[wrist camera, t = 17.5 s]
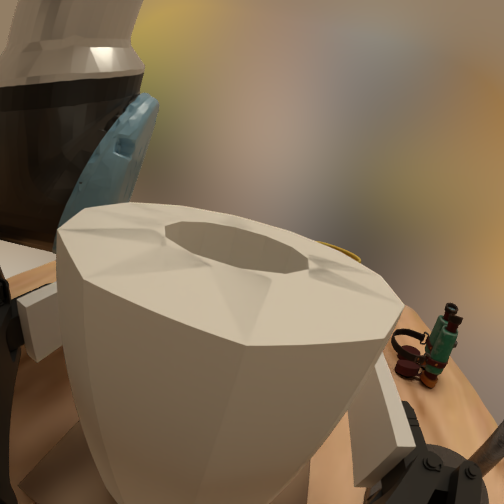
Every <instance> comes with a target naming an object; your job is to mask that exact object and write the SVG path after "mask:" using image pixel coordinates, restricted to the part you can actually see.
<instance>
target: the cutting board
mask: <svg viewBox="0 0 504 504" xmlns="http://www.w3.org/2000/svg"><path fill="white" fill-rule="evenodd" d="M309 473H310V460H309V461H308V463H307V464H306V465H305V466H304V467H303V468H302V469H301V471H300V472H299V473H298V474H297V475H296V476H295V477H294V478H293V480H292V481H291V482H290V483H289V484H288V485H287V486H286V487H285V488H284V489H283V490H282V491H281V492H280V493H279V494H278V495H277V496H276V497H275V498H274V499H273V500H272V501H271V502H270V503H269V504H307V497H308V486H309ZM18 487H19V488H21V489H22V490H23V491H24V492H25V493H26V494H27V495H28V496H29V497H30V498H31V499H33V500H34V501H35V502H36V503H37V504H118V503H117V502H116V501H115V499H114V498H113V497H112V495H111V494H110V493H109V491H108V490H107V489H106V486H105V484H104V482H103V480H102V478H101V476H100V473H99V471H98V469H97V466H96V464H95V462H94V459H93V457H92V454H91V452H90V449H89V446H88V443H87V441H86V438H85V435H84V432H83V429H82V426H81V423H80V420H79V421H78V422H77V423H76V424H75V425H74V426H73V427H72V428H71V429H70V430H69V432H68V433H67V434H66V435H65V436H64V437H63V438H62V439H61V440H60V441H59V442H58V443H57V444H56V445H55V446H54V447H53V448H52V449H51V451H50V452H49V453H48V454H47V455H46V456H45V457H44V458H43V459H42V460H41V461H40V462H39V463H38V464H37V465H36V466H35V467H34V469H33V470H32V471H31V472H30V473H29V474H28V475H27V476H26V477H25V478H24V479H23V480H22V481H21V482H20V483H19V485H18Z"/></svg>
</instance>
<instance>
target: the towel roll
mask: <svg viewBox="0 0 504 504" xmlns="http://www.w3.org/2000/svg"><path fill="white" fill-rule="evenodd" d="M56 277H57V298H58V311H59V321H60V329H61V337H62V344H63V350H64V356H65V362H66V367H67V372H68V377H69V381H70V386H71V390H72V394H73V398H74V402H75V406H76V409H77V413H78V416H79V419H80V423H81V426H82V429H83V432H84V435H85V438H86V441H87V443H88V446H89V449H90V452H91V454H92V457H93V459H94V462H95V464H96V466H97V469H98V471H99V473H100V476H101V478H102V480H103V482H104V484H105V486H106V489H107V490H108V491H109V493H110V494H111V495H112V497H113V498H114V499H115V501H116V502H117V503H118V504H269V503H270V502H271V501H272V500H273V499H274V498H275V497H276V496H277V495H278V494H279V493H280V492H281V491H282V490H283V489H284V488H285V487H286V486H287V485H288V484H289V483H290V482H291V481H292V480H293V478H294V477H295V476H296V475H297V474H298V473H299V472H300V471H301V469H302V468H303V467H304V466H305V465H306V464H307V463H308V461H309V460H310V459H311V458H312V457H313V455H314V454H315V453H316V452H317V450H318V449H319V448H320V447H321V445H322V444H323V443H324V442H325V440H326V439H327V438H328V436H329V435H330V434H331V432H332V431H333V430H334V428H335V427H336V425H337V424H338V423H339V421H340V420H341V418H342V417H343V416H344V414H345V413H346V411H347V410H348V408H349V407H350V405H351V404H352V402H353V401H354V399H355V398H356V396H357V394H358V393H359V391H360V390H361V388H362V386H363V385H364V383H365V382H366V380H367V378H368V377H369V375H370V373H371V371H372V370H373V368H374V366H375V364H376V363H377V361H378V359H379V357H380V355H381V354H382V352H383V350H384V348H385V346H386V344H387V342H388V340H389V338H390V336H391V334H392V332H393V330H394V328H395V326H396V324H397V322H398V320H399V318H400V315H401V313H402V311H403V309H404V307H405V305H404V304H403V303H402V301H401V300H400V299H399V298H398V296H397V295H396V294H395V293H394V291H393V290H392V289H391V288H390V286H389V285H388V284H387V283H386V282H385V280H384V279H383V278H382V277H381V276H380V275H379V274H377V273H375V272H374V271H372V270H370V269H368V268H367V267H365V266H364V265H362V264H360V263H359V262H357V261H355V260H354V259H352V258H350V257H349V256H347V255H345V254H343V253H342V252H340V251H338V250H335V249H333V248H331V247H328V246H326V245H323V244H321V243H318V242H316V241H313V240H311V239H308V238H306V237H303V236H301V235H298V234H296V233H293V232H290V231H287V230H284V229H281V228H278V227H274V226H271V225H267V224H264V223H260V222H257V221H253V220H249V219H246V218H242V217H239V216H235V215H230V214H225V213H219V212H214V211H208V210H203V209H197V208H192V207H186V206H179V205H165V204H150V203H133V202H128V203H119V204H111V205H104V206H96V207H89V208H84V209H83V210H81V211H80V212H79V213H77V214H76V215H75V216H73V217H72V218H71V219H70V220H68V221H67V222H66V223H64V224H63V225H62V226H61V227H59V228H58V229H57V243H56Z"/></svg>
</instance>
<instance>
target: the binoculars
mask: <svg viewBox="0 0 504 504" xmlns="http://www.w3.org/2000/svg"><path fill="white" fill-rule="evenodd" d="M457 311H458V308H457V306H456V305H455V304H453V303H447V304H446V306H445V314H444V316H442V315H440V316H439V317H438V319H437V321H436V324H435V326H434V328H433V330H432V333H431V335H430V337H429V334H428V333H427V332H424V334H421V333H419V332H416V331H413V330H410V329H397V330H396V331H395V332H394V333H393V336H392V338H391V343H392V346H393V348H394V350H395V351H396V352H397V353H398V358H399V359H400V360H398V361H397V364H396V367H395V371H396V372H398V373H399V374H402V375H405V376H420V379H421V380H422V382H423V383H424V384H425V385H426V386H428V387H431V388H433V387H434V386H435V384H436V383H437V381H438V378H437V376H438V375H439V374H441V373H442V371H443V369H444V368H445V366H446V364H448V359H449V356H450V354H451V351H452V349H453V348H455V347H456V346H457V341H456V338H457V335H458V330H457V328H458V326H459V325H460V324H461V322H462V320H463V318H462V317H458V316H455V314H457ZM425 333H426V334H427V335H428V337H427V339H426V342H425V343H421V342H422V341H423V340H424V337H425ZM396 335H408V336H411V337H414V338H416V339H418V340H420V344H422V345H425V344H426V346H425V352H426V353H425V354H424V356H423V355H420V351H419V350H418V349H416V348H414V347H412V346H408V345H405V346H402V347H401V346H400V345H399V344H398V343H397V341H396V340H395V337H394V336H396ZM425 355H426V356H425ZM416 363H420V365H418V364H416ZM420 367H424V368H425V369H426V370H424V371H422V372H421V373H420V374H418V371H419V369H420Z"/></svg>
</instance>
